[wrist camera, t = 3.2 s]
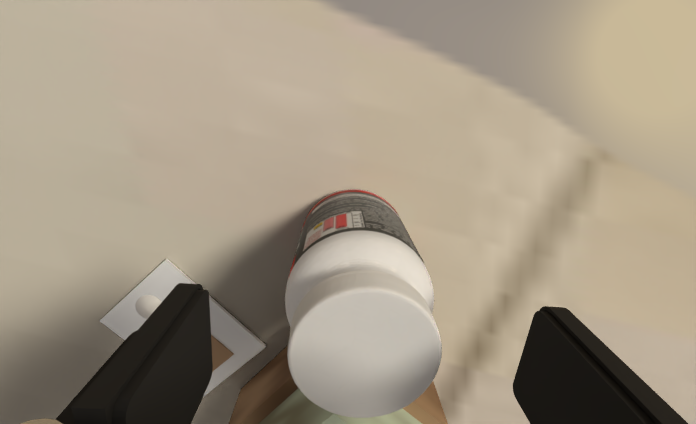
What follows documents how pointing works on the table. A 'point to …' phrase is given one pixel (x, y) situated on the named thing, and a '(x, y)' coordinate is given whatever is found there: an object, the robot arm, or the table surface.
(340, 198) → the pill bottle
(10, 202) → the table surface
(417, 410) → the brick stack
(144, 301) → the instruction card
